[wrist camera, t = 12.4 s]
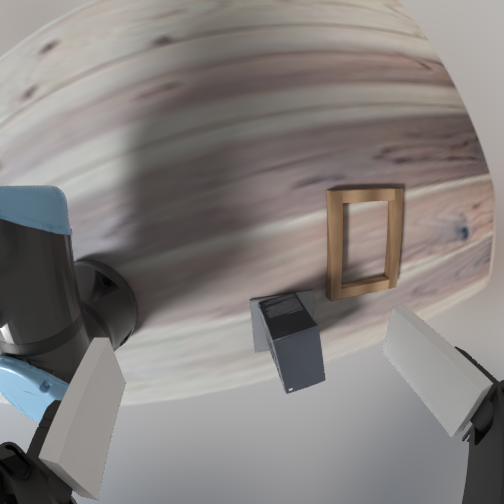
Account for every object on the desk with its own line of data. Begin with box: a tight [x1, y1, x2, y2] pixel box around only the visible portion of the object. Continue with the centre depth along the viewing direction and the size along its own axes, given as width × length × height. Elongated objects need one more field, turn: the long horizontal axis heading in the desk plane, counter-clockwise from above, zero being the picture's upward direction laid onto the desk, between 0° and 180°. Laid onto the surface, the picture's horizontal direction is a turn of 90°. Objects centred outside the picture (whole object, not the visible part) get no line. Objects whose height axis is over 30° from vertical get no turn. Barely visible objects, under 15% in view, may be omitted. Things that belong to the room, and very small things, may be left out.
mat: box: [250, 290, 313, 353], centre depth 44 cm, size 10×10×1 cm
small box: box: [258, 292, 325, 394], centre depth 39 cm, size 11×6×10 cm, turn 14°
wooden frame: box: [326, 188, 403, 301], centre depth 41 cm, size 13×17×2 cm
